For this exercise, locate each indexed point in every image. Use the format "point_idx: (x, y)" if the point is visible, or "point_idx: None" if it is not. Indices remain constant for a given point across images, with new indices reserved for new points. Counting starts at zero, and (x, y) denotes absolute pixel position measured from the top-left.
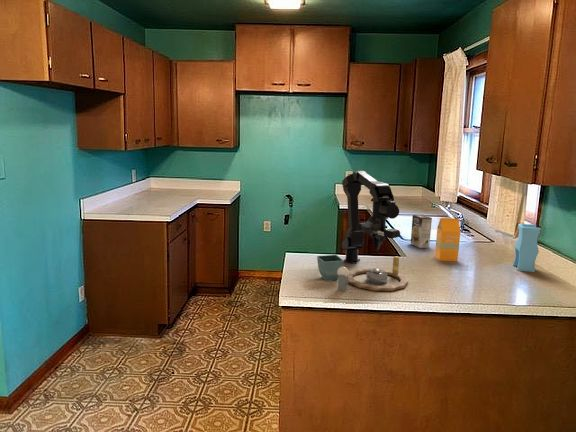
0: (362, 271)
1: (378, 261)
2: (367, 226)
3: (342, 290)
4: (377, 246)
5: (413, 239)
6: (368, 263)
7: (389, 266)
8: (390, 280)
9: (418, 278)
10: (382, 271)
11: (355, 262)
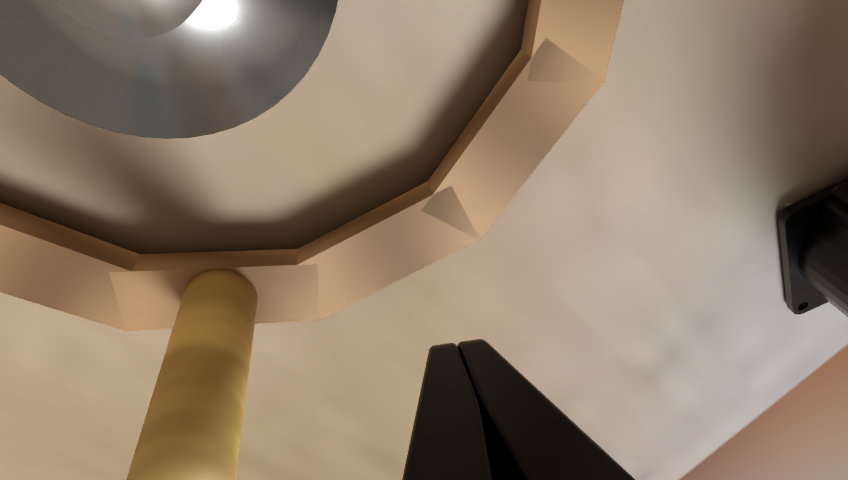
0: (535, 7)
1: (640, 408)
2: None
3: None
4: (415, 433)
5: None
6: (680, 315)
7: None
8: (121, 135)
9: (72, 415)
10: (135, 75)
11: (792, 215)
